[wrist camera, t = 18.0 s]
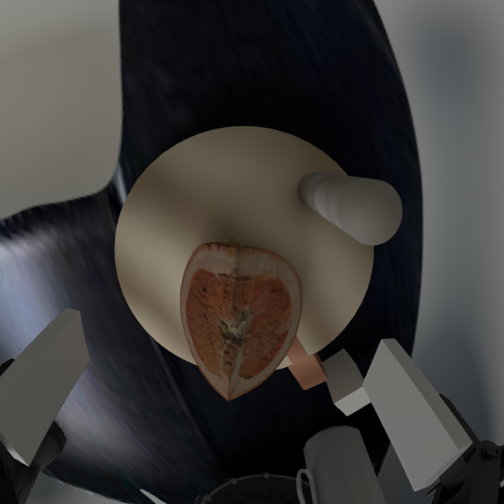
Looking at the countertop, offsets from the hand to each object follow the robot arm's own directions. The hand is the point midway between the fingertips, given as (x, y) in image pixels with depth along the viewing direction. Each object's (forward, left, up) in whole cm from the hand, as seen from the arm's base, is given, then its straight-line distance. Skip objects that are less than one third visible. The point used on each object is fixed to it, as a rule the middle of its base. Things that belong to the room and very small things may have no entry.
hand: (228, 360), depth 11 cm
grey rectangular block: (+10, -8, -10) cm, 16 cm away
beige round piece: (+2, +1, -9) cm, 9 cm away
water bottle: (+12, -20, -10) cm, 26 cm away
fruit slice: (0, 0, -6) cm, 6 cm away
